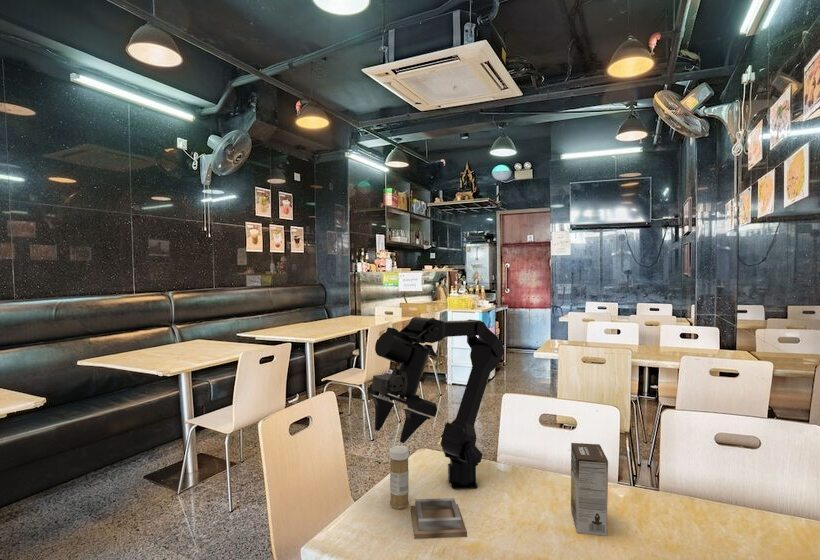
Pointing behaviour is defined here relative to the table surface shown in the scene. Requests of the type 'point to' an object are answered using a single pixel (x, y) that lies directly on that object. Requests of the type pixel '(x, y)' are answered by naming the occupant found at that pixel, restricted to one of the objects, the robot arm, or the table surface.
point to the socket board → (437, 519)
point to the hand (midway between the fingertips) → (388, 436)
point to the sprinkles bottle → (399, 477)
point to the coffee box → (589, 488)
